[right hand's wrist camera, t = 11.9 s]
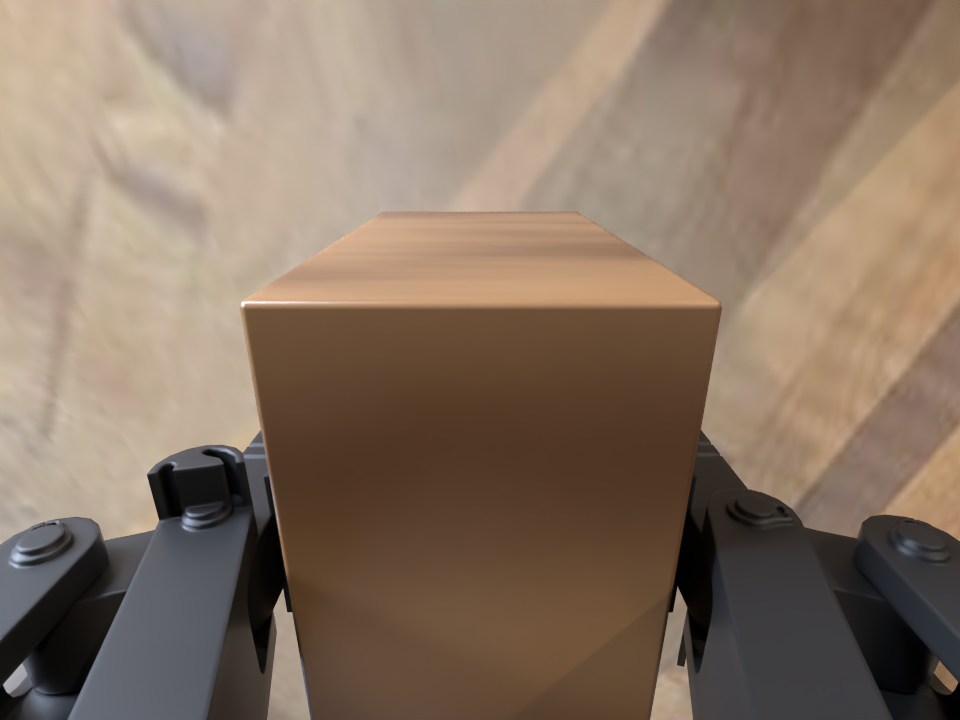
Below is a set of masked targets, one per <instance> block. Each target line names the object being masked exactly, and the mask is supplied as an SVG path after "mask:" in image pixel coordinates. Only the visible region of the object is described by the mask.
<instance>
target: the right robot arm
mask: <svg viewBox="0 0 960 720" xmlns="http://www.w3.org/2000/svg"><path fill="white" fill-rule="evenodd" d="M147 476H148V480H149V484H150V487H151V491H152V495H153V499H154V502H155V506H156V510H157V513H158V517H159V523H158V525H157V527H156V529H155V530H153V531H149V532H145V533H140V534H135V535H130V536H125V537H120V538H115V539H110V540H105V541H104V540H103V537H102V533H101V530H100V527H99V525H98V524H97V523H96V522H94V521H93V520H92V519H88V518H80V517H71V518H63V519H55V520H51V521H47V522H46V523H45V522H43V523H40V524H37V525H34V526H32V527H31V528H29V529H27V530H25V531H23V532H21V533H18V534H16V535H14V536H13V537H11V538H10V539H8V540H7V541H5V542H4V543H2V544H1V545H0V720H267V714H268V705H269V696H270V687H271V678H272V669H273V660H274V651H275V642H276V633H277V631H276V624H275V618H274V613H273V609H274V607H275V604H276V602H277V600H278V598H279V595H280V593H281V591H282V589H284V595H285V601H286V606H287V612H292V606H291V601H290V595H289V589H288V583H287V577H286V571H285V566H284V560H283V554H282V548H281V542H280V537H279V531H278V525H277V519H276V513H275V508H274V502H273V496H272V490H271V484H270V478H269V473H268V467H267V461H266V455H265V449H264V444H263V438H262V432H261V431H260V432H259V433H258V434H257V436H256V437H255V438H254V440H253V441H252V442H251V443H250V447H247V448H246V450H245V451H244V452H243V453H242V452H241V451H239V450H238V449H237V448H234V447H230V446H225V445H207V446H201V447H196V448H192V449H187V450H185V451H182V452H179V453H176V454H174V455H171V456H169V457H168V458H166V459H164V460H163V461H161V462H159V463H158V464H156V465H155V466H154V467H153V468H152V469H151V470H150V471H149V473H148V474H147ZM677 586H678V588H679V590H680V592H681V594H682V596H683V599H684V601H685V603H686V605H687V607H688V608H687V613H686V618H685V624H684V629H683V634H682V639H681V645H680V650H679V656H678V662H677V665H678V666H683V667H684V665H685V660H686V659H687V668H688V677H689V686H690V695H691V704H692V713H693V720H960V541H958V540H957V539H955V538H954V537H952V536H951V535H949V534H948V533H946V532H944V531H942V530H939V529H937V528H935V527H933V526H931V525H930V524H928V523H925V522H922V521H919V520H917V521H916V520H914V519H912V518H908V517H901V516H892V515H878V516H871V517H869V518H868V519H867V520H865V521H864V522H863V523H862V526H861V529H860V532H859V535H858V538H852V537H847V536H842V535H837V534H832V533H827V532H822V531H817V530H813V529H809V528H805V527H804V526H803V524H802V522H801V520H800V519H799V517H798V516H797V515H796V514H795V512H794V511H793V510H792V509H791V508H790V507H788V506H787V505H785V504H784V503H782V502H781V501H780V500H778V499H776V498H773V497H771V496H769V495H766V494H764V493H762V492H757V491H753V490H749V489H747V487H746V486H745V485H744V484H743V482H742V481H741V480H740V479H739V477H738V476H737V475H736V474H735V472H734V471H733V470H732V469H731V467H730V466H729V465H728V464H727V462H726V461H725V460H724V458H723V457H722V456H720V453H719V452H718V451H717V450H716V448H715V447H714V446H713V445H711V442H710V441H709V440H708V438H707V437H706V436H705V434H704V433H703V432H702V431H701V430H700V436H699V441H698V447H697V453H696V459H695V464H694V470H693V476H692V481H691V487H690V493H689V499H688V504H687V510H686V516H685V522H684V527H683V533H682V539H681V545H680V550H679V556H678V562H677V567H676V573H675V579H674V585H673V590H672V596H671V602H670V608H669V612H673V608H674V603H675V597H676V591H677ZM939 660H940V661H941V663H942V664H943V665H944V666H945V667H946V668H947V669H948V670H949V672H950V673H951V674H952V675H953V676H954V677H955V678H956V680H957V681H958V682H959V683H958V685H957V687H956V689H955V690H954V691H953V692H951V691H950V690H949V689H948V688H947V687H946V686H945V685H944V684H943V683H942V682H941V681H940V680H939V679H938V678H937V676H936V675H935V674H934V671H935V669H936V667H937V665H938V662H939ZM22 663H23V666H24V668H25V670H26V672H27V676H26V678H25V679H24V680H23V681H22V682H21V684H20V685H19V686H18V687H17V688H15V689H14V690H13V691H12V692H11V693H10V694H9V693H7V692H6V690H5V688H4V686H3V684H4V683H5V682H6V681H7V680H8V678H9V677H10V676H11V675H12V674H13V673H14V672H15V670H16V669H17V668H18V667H19V666H20V665H21V664H22Z"/></svg>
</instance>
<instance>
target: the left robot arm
mask: <svg viewBox="0 0 960 720" xmlns="http://www.w3.org/2000/svg"><path fill="white" fill-rule="evenodd" d="M26 676H27V672H26V670H25V668H24V666H23V663H22V664H21V665H20V666H19V667H18V668H17V669H16V670H15V672H14V673H13V674H12V675H11V676H10V677H9V678H8V680H7V681H6V682H5V683H4V684H3V686H4V688H5V690H6V692H7V693H9V694H10V693H11V692H12V691H13V690H14V689H15V688H17V687H18V686H19V685H20V684H21V682H22V681H23V680H24V679H25V678H26Z"/></svg>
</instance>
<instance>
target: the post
mask: <svg viewBox="0 0 960 720" xmlns="http://www.w3.org/2000/svg"><path fill="white" fill-rule="evenodd" d="M240 310H241V316H242V321H243V327H244V333H245V339H246V345H247V350H248V356H249V362H250V368H251V374H252V380H253V385H254V391H255V397H256V403H257V409H258V414H259V420H260V426H261V432H262V438H263V444H264V449H265V455H266V461H267V467H268V473H269V478H270V484H271V490H272V496H273V502H274V508H275V513H276V519H277V525H278V531H279V537H280V542H281V548H282V554H283V560H284V566H285V571H286V577H287V583H288V589H289V595H290V601H291V606H292V612H293V618H294V624H295V630H296V635H297V641H298V647H299V653H300V659H301V665H302V670H303V676H304V682H305V688H306V694H307V699H308V705H309V711H310V717H311V720H650V717H651V711H652V705H653V699H654V694H655V688H656V682H657V676H658V671H659V665H660V659H661V653H662V648H663V642H664V636H665V631H666V625H667V619H668V613H669V608H670V602H671V596H672V590H673V585H674V579H675V573H676V567H677V562H678V556H679V550H680V545H681V539H682V533H683V527H684V522H685V516H686V510H687V504H688V499H689V493H690V487H691V481H692V476H693V470H694V464H695V459H696V453H697V447H698V441H699V436H700V430H701V424H702V418H703V413H704V407H705V401H706V395H707V390H708V384H709V378H710V373H711V367H712V361H713V355H714V350H715V344H716V338H717V332H718V327H719V321H720V315H721V310H722V307H721V303H720V301H718V300H717V299H715V298H714V297H712V296H710V295H709V294H707V293H706V292H704V291H702V290H701V289H699V288H698V287H696V286H694V285H693V284H691V283H690V282H688V281H686V280H685V279H683V278H682V277H680V276H678V275H677V274H675V273H674V272H672V271H671V270H669V269H667V268H666V267H664V266H663V265H661V264H659V263H658V262H656V261H655V260H653V259H651V258H650V257H648V256H647V255H645V254H643V253H642V252H640V251H639V250H637V249H635V248H634V247H632V246H631V245H629V244H627V243H626V242H624V241H623V240H621V239H619V238H618V237H616V236H615V235H613V234H612V233H610V232H608V231H607V230H605V229H604V228H602V227H600V226H599V225H597V224H596V223H594V222H592V221H591V220H589V219H588V218H586V217H584V216H583V215H581V214H580V213H578V212H382V213H380V214H379V215H377V216H376V217H374V218H372V219H371V220H369V221H368V222H366V223H365V224H363V225H361V226H360V227H358V228H357V229H355V230H354V231H352V232H350V233H349V234H347V235H346V236H344V237H343V238H341V239H339V240H338V241H336V242H335V243H333V244H332V245H330V246H328V247H327V248H325V249H324V250H322V251H321V252H319V253H317V254H316V255H314V256H313V257H311V258H310V259H308V260H306V261H305V262H303V263H302V264H300V265H298V266H297V267H295V268H294V269H292V270H291V271H289V272H287V273H286V274H284V275H283V276H281V277H280V278H278V279H276V280H275V281H273V282H272V283H270V284H269V285H267V286H265V287H264V288H262V289H261V290H259V291H258V292H256V293H254V294H253V295H251V296H250V297H248V298H247V299H245V300H243V301H242V303H241V307H240Z"/></svg>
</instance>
